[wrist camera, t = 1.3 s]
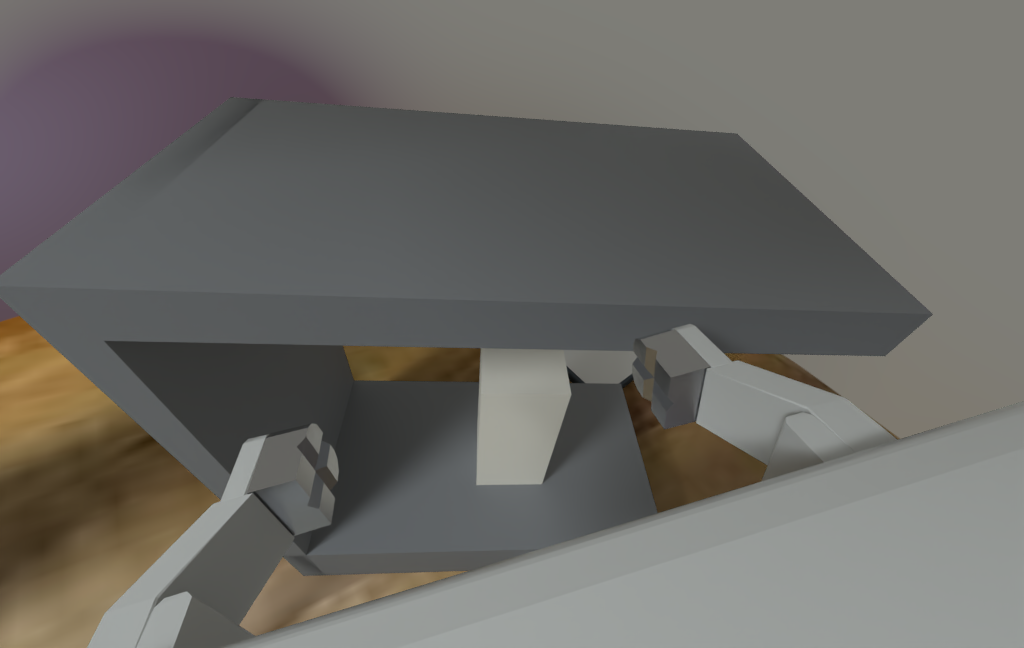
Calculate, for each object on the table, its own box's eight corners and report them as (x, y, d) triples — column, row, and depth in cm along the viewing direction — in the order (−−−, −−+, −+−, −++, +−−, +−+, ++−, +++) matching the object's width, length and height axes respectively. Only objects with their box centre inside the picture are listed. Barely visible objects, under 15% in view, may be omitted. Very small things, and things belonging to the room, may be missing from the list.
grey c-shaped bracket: (303, 575, 30) (-14, 285, 10) (347, 411, 40) (230, 97, 20) (644, 565, 32) (933, 314, 13) (607, 412, 42) (737, 133, 22)
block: (476, 484, 31) (481, 393, 22) (477, 425, 34) (481, 327, 26) (542, 484, 31) (571, 394, 23) (536, 426, 35) (559, 328, 26)
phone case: (597, 410, 43) (684, 343, 51) (601, 402, 42) (689, 334, 49) (541, 357, 48) (629, 302, 55) (543, 348, 46) (632, 294, 54)
